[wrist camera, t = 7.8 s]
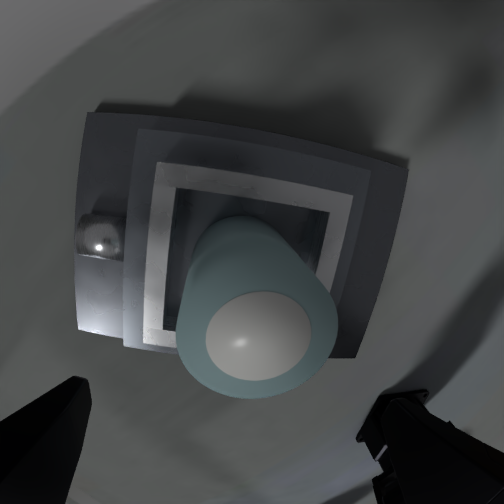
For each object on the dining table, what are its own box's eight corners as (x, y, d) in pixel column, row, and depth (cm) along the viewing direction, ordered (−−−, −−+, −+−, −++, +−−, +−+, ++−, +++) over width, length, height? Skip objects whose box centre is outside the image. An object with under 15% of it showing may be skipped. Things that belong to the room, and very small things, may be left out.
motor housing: (402, 169, 18) (444, 173, 14) (351, 352, 22) (375, 388, 18) (92, 113, 15) (58, 102, 11) (82, 323, 19) (57, 359, 14)
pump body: (297, 224, 15) (358, 272, 9) (278, 313, 17) (314, 400, 10) (198, 208, 15) (183, 249, 8) (186, 302, 16) (172, 392, 9)
